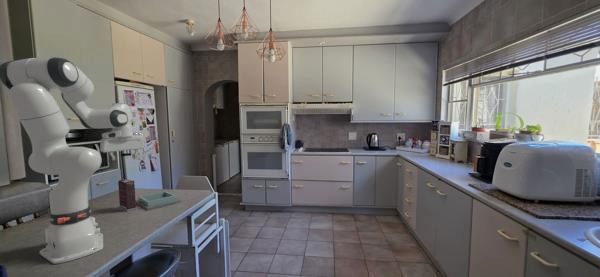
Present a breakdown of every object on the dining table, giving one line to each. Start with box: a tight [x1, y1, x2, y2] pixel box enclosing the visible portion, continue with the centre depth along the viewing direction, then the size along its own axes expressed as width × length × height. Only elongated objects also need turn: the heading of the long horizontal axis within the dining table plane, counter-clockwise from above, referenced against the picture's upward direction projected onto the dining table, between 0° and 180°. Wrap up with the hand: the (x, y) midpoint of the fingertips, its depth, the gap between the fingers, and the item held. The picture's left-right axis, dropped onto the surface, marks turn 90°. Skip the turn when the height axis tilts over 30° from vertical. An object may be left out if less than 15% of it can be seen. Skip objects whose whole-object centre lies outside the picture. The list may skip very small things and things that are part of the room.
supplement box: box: [117, 178, 137, 212], centre depth 141 cm, size 9×5×16 cm, turn 58°
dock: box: [135, 190, 182, 211], centre depth 153 cm, size 22×18×4 cm
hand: (124, 158), depth 140 cm, fingers open, 8 cm apart
